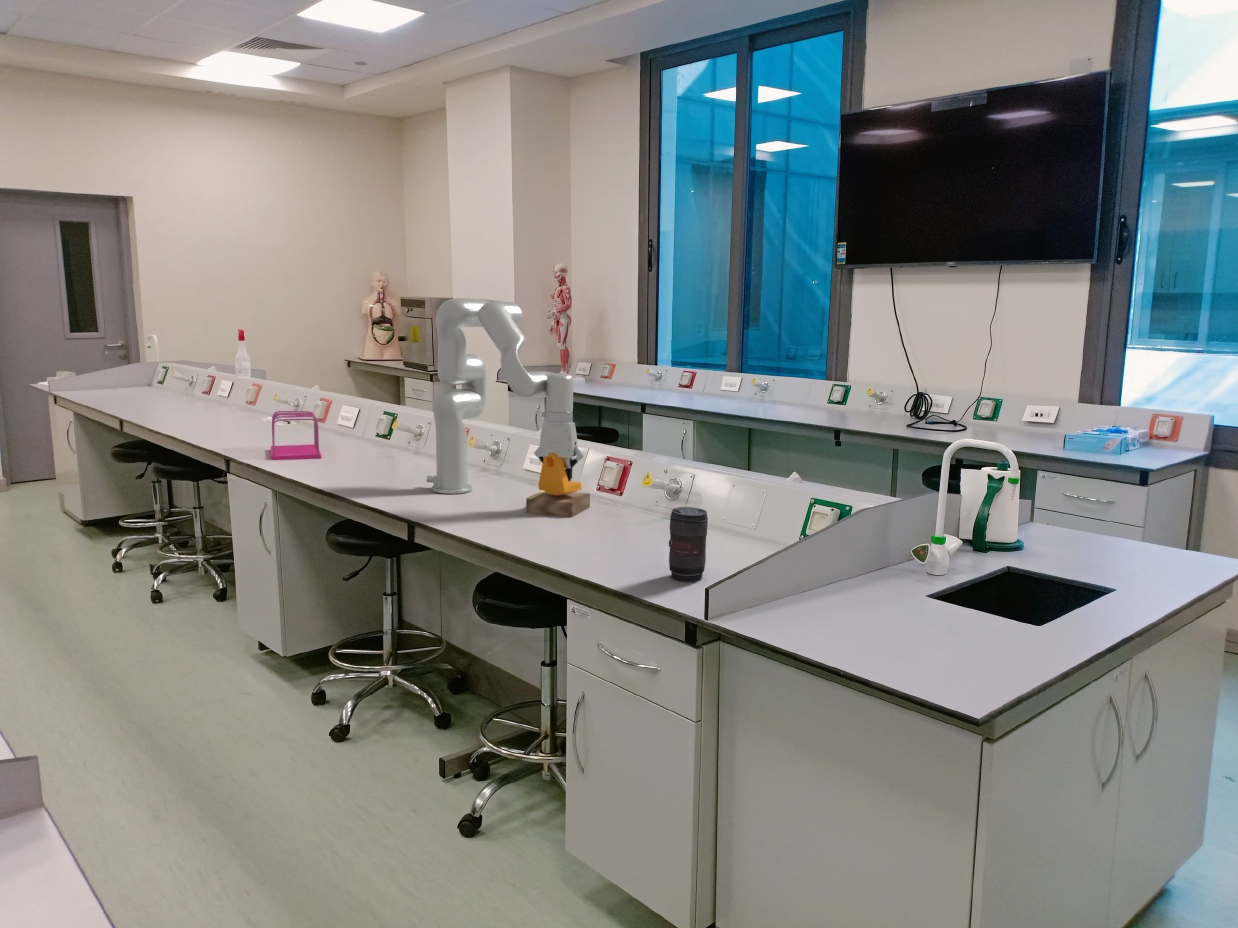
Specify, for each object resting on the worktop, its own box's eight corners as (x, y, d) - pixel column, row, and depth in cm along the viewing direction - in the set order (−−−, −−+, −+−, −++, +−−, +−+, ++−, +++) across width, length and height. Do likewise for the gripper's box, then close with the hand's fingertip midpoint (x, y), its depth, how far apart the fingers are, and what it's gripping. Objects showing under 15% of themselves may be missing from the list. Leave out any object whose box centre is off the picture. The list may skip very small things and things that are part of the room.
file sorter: (317, 448, 360) (316, 409, 357) (321, 458, 337) (320, 417, 334) (270, 450, 353) (269, 410, 351) (271, 460, 330) (269, 418, 328)
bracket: (583, 491, 258) (580, 450, 256) (564, 496, 253) (562, 453, 251) (557, 488, 265) (555, 448, 263) (539, 492, 260) (536, 451, 258)
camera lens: (675, 584, 191) (678, 515, 189) (663, 573, 199) (665, 507, 196) (711, 582, 193) (713, 513, 191) (697, 571, 201) (699, 505, 198)
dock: (526, 512, 255) (526, 497, 254) (545, 502, 268) (545, 489, 268) (572, 517, 251) (572, 502, 250) (589, 507, 264) (590, 493, 263)
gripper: (526, 417, 254) (525, 480, 257) (582, 420, 249) (581, 485, 252) (536, 414, 261) (536, 475, 264) (592, 418, 256) (590, 480, 259)
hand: (558, 479), depth 258 cm, fingers closed on bracket, 5 cm apart
